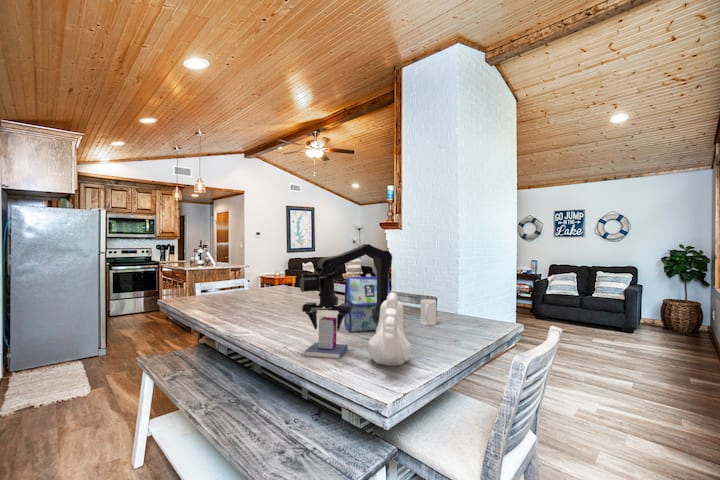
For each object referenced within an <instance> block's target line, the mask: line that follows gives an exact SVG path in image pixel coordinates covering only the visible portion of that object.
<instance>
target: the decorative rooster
mask: <svg viewBox="0 0 720 480" xmlns="http://www.w3.org/2000/svg"><path fill="white" fill-rule="evenodd" d="M405 335H406V333H405V330H404V306H403V304H402V303H401V302H400V301H399V298H398V295H397V294H396V293H395V292H391V293H390V294H389V295H388V296H387V300H385V301H384V302H383V303H382V304H381V307H380V315H379V323H378V326H377V329H376V330H375V334H374V335H373V336H372V337H371V338H370V339H369V340H368V341H367V352H368V356H369V358H371V359H373V361H374V362H375V363H377V364H379V365H384V366H386V367H395V366H402V365H403V364H404V363H406V362H408V361H409V360H410V357H411V355H412V354H411V353H412V345H411V343H410V341H409V340H408V339H407V338H406V337H405Z"/></svg>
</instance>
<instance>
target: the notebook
mask: <svg viewBox="0 0 720 480" xmlns="http://www.w3.org/2000/svg"><path fill="white" fill-rule="evenodd" d="M348 350H349V345H348V344H343V343H336V347H334V348H333V350H319V349H318V342H314V343H313V344H311V345H310V346H309V347H307V348H306V349H305V350H304V357H312V358H313V357H314V358H324V359H325V358H326V359H339V360H340V359H342V357H343V356H344V355H346V353H347V352H348Z"/></svg>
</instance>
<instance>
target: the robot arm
mask: <svg viewBox="0 0 720 480" xmlns="http://www.w3.org/2000/svg"><path fill="white" fill-rule="evenodd" d="M363 256H367V257H368V258H370V259H373V265H374V268H375V270H376V277H377V306H376V308H375V309H372V318H373V321H374V323H375V324H376V326H378V323H379V315H380V307H381V304H382V303H383V302H384V301H385V300H387V296H388V279H389V271H390V269H391V266H392V263H393V255H392V253H391V252H390V251H388V250H383V249H380V248H378V247H375V246H373V245H371V244H369V243H363V244H361V245H360V246H357V247H354V248H353V249H350V250H348V251H345V252H343V253H340V254H337V255H331V256H327V257H326V256H325V257H323V258H320V259H319V260H318V262H317V266H316V268H315V269H314V271H313V272H312V273H301V278H300V280H299V289H300V292H302V293H304V292H307V293H308V292H316V291H317V290H319V292H318V297H319V303H318V304H317V302H311V301H310V302H306V303H304V304H303V305H302V307H301V310H302V311H301V312H303V313H304V314H305V315H307V316H308V318H309V319H310V321H311V323H312V325H313V327H314V330H317V329H318V318H317V317H318V316H317V314H318V311H337V312H338V313H337V315H336V316H337V317H336V318H337V328H336V332H337V331H338V332H339V331H340V329H341V326H342V323H343V320H344V316H345V315H347V314H348V313H350V312H351V311H352V306H351V305H350V304H344V303H341V304H339V296H337V295H336V291H335V279H340V276H339V275H338V274H337V273H336V271H337V270H338V269H340V268H341V267H342V266H344V265H346V264H347V263H349V262H352V261H354V260H356V259H359V258H362V257H363Z"/></svg>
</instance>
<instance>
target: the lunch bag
mask: <svg viewBox="0 0 720 480" xmlns="http://www.w3.org/2000/svg"><path fill="white" fill-rule="evenodd" d="M389 280H390V279H389V278H388V295H389V294H390V293H392V292H391V288H390V281H389ZM343 304H350V305H351V306H352V311H351V312H350V313H348V314H347V315H345V316H344V318H343V320H344V321H343V323H344V326H345V327H346V329H347V331H348V332H349V333H352V332H361V331H364V332H366V331H367V332H368V331H376V329H377V326H376V324H375V323H374V321H373V318H372V309H375V308H376V306H377V276H351V277H345V287H344V303H343Z"/></svg>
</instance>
